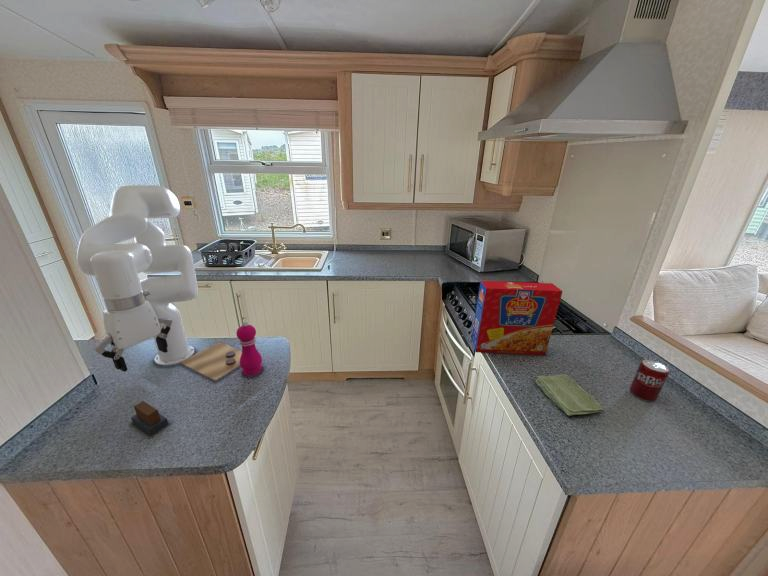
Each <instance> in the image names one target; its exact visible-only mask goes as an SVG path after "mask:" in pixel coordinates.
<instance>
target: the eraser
mask: <svg viewBox="0 0 768 576" xmlns="http://www.w3.org/2000/svg"><path fill="white" fill-rule="evenodd" d="M133 409H134V410H135V411H134V412H135V415H133V416H131V417H130V419H131V422H132V423H133V424H134V425H136V427H138V428H140V429H141V430H142V431H144V432H145V433H147V434H148V435H150V436H152V435H154V434H156V433H157V432H158V431H160V430H162V429H163V428H164V427H166V426H168V425H169V422H168V419H167V418H166V417H165V416H163V415H161V414H160V413H159V411H158V409H157V408H155V407H153V406H152V405H150V404H149V403H147V402H146V401H144V400H142V401H141V402H139V403H137V404H135V405H133Z"/></svg>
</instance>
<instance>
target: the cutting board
mask: <svg viewBox="0 0 768 576" xmlns="http://www.w3.org/2000/svg"><path fill="white" fill-rule="evenodd" d="M230 351H234V352H235V356H234V357H231V358H234V359H235V361H236V362H235V363H234V364H233V365H226V360H228V359H230V358H227V357H226V353H227V352H230ZM241 354H242V350H241V349H238V348H235V347H233V346H231V345H228V344H225V343H223V342H221V341H218V342H216V343H214V344H212V345H211V346H208V347H207V348H205V349H203V350H201V351H199V352H196V353H195V354H193V355H192V356H191V357H189V358H188V359H186V360H184V361H182V362H179V364H182V365H183V366H186V367H188V369H191V370H193V371H195V372H198V373H199V374H201V375H203V376H205V377H207V378H209V379H212V380H214V381H217V380H219V379H220V378H222V377H224V376H225V375H226V374H228V373H231V372H232V371H233V370H234V369H236V368H238V367H239V366H240V357H241Z"/></svg>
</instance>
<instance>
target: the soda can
mask: <svg viewBox="0 0 768 576" xmlns="http://www.w3.org/2000/svg"><path fill="white" fill-rule="evenodd" d="M669 375H670V369H669V367H668V366H666V365H665V364H663V363H661V362H659V361H657V360H654V359H642V360H641V361H640V363H639V365H638V367H637V370H636V372H635V375H634V376H633V379H632V381H631V384H630V386H629V391H630V393H631V394H632V395H633V396H634V397H635V398H637V399H638V400H641V401H644V402H649V403H653V402H656V401H657V400H658V398H659V395H660V394H661V392H662V390H663V388H664V385H665V383H666V381H667V379H668V377H669Z"/></svg>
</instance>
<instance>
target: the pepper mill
mask: <svg viewBox="0 0 768 576" xmlns="http://www.w3.org/2000/svg"><path fill="white" fill-rule="evenodd" d="M256 335H257V330H256V328H255V327H254V325H252V324H249V323H248V322H247V321H243V322H242V323H241V325H240V326H239V327H238V328H237V329H236V338H237V339H238V340H239V341H238V342H239V345H240V346H241V351H242V354H241V357H240V365H239V366H240V368H242V374H243V375H245V376H254V375H257V374H259V373H260V372H262V370H263V367H262V363H263V357H262V354H261V353H260V352H259V350H258V349H257V347H256V341H257V339H256Z"/></svg>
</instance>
